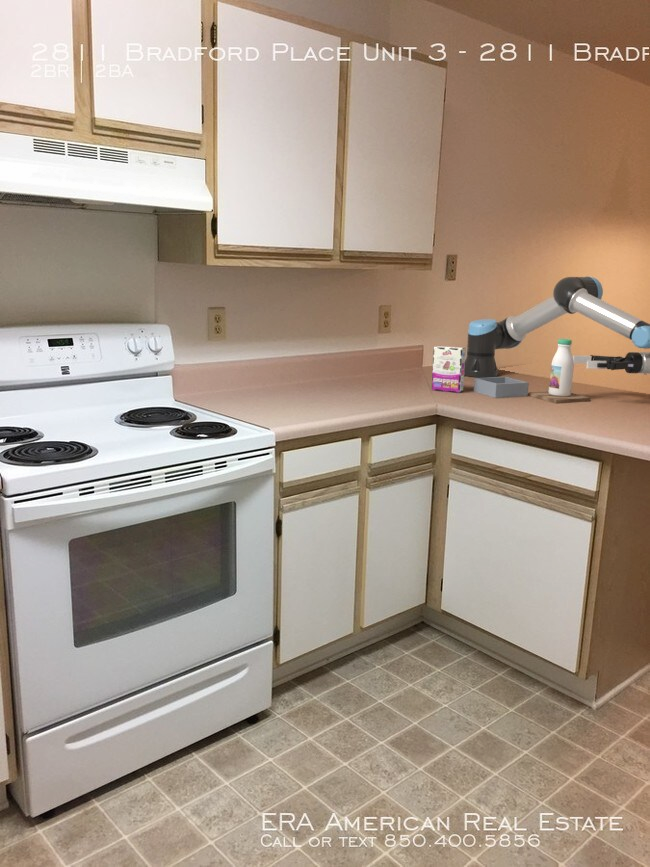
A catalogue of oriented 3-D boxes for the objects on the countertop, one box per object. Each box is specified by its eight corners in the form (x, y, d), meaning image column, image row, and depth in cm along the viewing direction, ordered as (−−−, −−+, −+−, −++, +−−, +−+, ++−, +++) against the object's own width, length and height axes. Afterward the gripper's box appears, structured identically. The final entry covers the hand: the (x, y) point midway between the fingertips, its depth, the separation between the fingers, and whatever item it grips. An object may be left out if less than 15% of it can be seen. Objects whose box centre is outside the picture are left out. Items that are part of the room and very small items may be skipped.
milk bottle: (568, 393, 265) (573, 338, 261) (572, 397, 258) (578, 341, 253) (546, 392, 266) (551, 337, 261) (550, 396, 259) (556, 340, 254)
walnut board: (528, 395, 266) (529, 392, 266) (562, 393, 272) (562, 390, 271) (555, 403, 253) (556, 399, 252) (590, 401, 258) (590, 397, 258)
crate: (473, 391, 273) (474, 378, 272) (504, 389, 278) (505, 376, 277) (495, 398, 260) (496, 384, 259) (527, 396, 265) (528, 382, 264)
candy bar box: (463, 391, 273) (466, 347, 269) (459, 393, 268) (462, 348, 265) (435, 388, 278) (437, 345, 274) (430, 390, 273) (433, 346, 270)
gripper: (653, 378, 248) (592, 377, 247) (622, 368, 272) (566, 367, 272) (656, 356, 246) (594, 356, 246) (625, 348, 270) (568, 347, 270)
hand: (579, 362), depth 259 cm, fingers open, 13 cm apart
